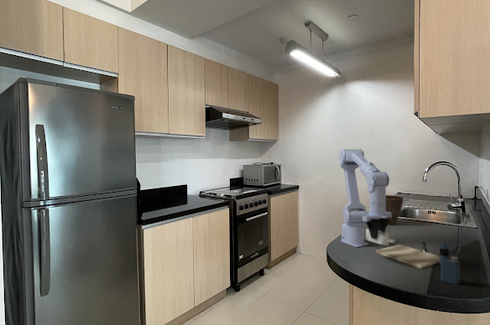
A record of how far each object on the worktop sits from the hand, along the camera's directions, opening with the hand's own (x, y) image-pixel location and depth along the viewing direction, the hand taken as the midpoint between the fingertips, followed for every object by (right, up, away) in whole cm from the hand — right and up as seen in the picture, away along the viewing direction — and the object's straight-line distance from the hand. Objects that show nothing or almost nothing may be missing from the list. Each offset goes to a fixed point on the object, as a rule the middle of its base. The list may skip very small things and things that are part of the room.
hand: (377, 237), depth 105 cm
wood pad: (+14, -8, +3) cm, 17 cm away
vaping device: (+14, -9, -18) cm, 25 cm away
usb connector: (0, -2, -1) cm, 2 cm away
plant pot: (+34, -7, +55) cm, 65 cm away
